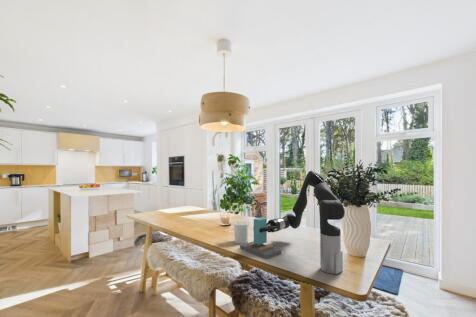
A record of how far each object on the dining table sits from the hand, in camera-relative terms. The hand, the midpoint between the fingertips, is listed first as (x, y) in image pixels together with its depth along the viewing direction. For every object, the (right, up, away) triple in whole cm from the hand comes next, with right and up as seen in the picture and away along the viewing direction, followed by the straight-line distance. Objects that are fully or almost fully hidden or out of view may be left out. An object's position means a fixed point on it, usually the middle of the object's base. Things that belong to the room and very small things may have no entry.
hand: (256, 229), depth 142 cm
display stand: (+2, -13, +1) cm, 13 cm away
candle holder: (-9, -13, +18) cm, 24 cm away
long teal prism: (+2, -8, +2) cm, 8 cm away
